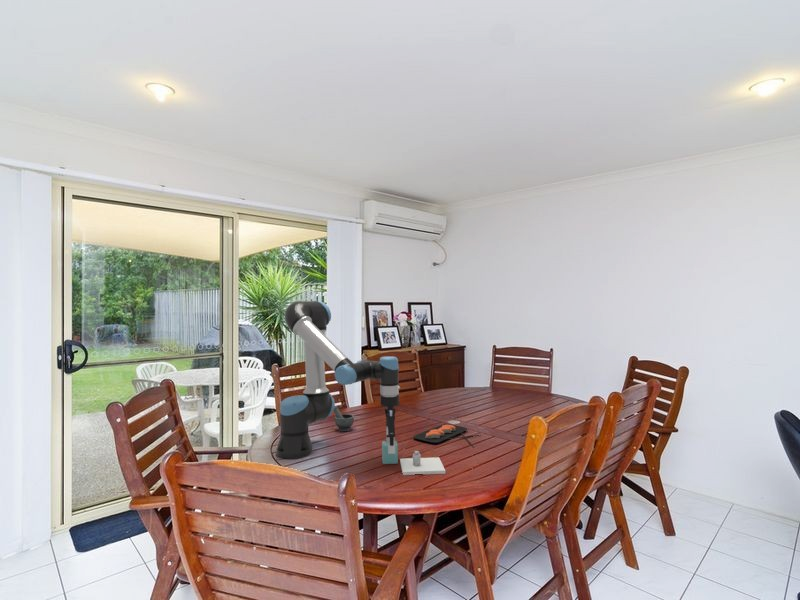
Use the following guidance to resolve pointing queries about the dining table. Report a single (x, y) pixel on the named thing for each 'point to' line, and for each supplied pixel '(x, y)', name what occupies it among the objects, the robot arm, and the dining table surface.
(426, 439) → the sushi plate
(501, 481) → the dining table surface
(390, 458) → the cap
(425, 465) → the stud board
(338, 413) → the mortar and pestle
